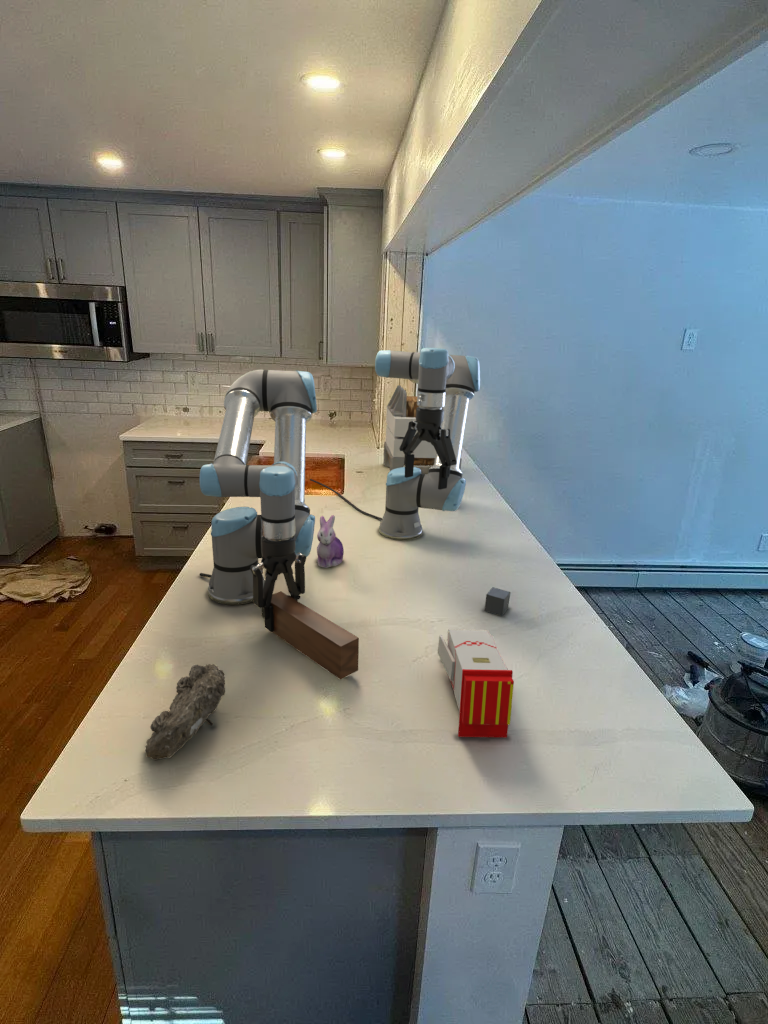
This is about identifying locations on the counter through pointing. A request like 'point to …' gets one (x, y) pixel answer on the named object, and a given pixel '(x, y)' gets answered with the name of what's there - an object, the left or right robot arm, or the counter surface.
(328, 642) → the plank
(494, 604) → the grey block
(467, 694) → the toy
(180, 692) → the fossil
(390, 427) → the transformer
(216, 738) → the counter surface
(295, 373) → the left robot arm
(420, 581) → the counter surface
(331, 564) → the figurine
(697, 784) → the counter surface
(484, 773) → the counter surface
